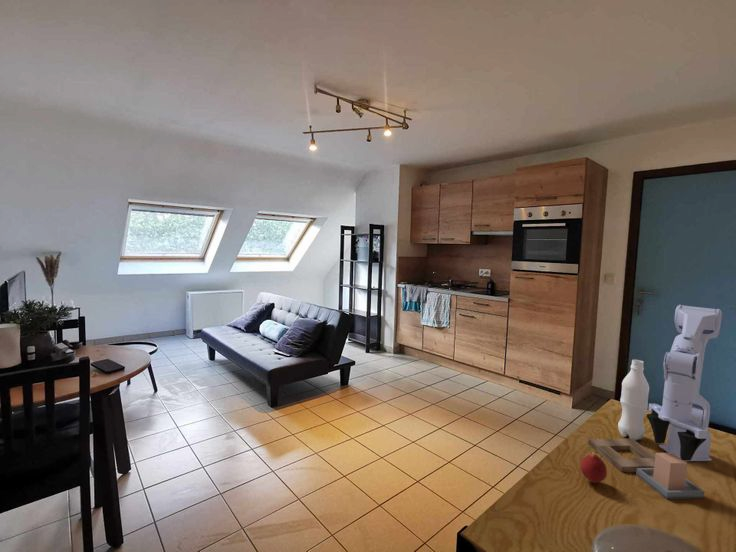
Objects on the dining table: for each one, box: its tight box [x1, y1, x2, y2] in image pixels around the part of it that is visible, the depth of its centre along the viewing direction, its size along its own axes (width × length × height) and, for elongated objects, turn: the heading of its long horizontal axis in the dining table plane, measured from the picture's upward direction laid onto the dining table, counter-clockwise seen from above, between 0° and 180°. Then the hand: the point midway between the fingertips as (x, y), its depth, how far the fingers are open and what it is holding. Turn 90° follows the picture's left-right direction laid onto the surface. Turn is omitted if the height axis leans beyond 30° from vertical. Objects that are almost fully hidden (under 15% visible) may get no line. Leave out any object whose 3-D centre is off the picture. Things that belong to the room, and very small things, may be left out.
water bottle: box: [617, 359, 650, 441], centre depth 119 cm, size 7×7×25 cm
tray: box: [635, 468, 706, 500], centre depth 96 cm, size 10×10×2 cm
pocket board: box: [587, 438, 655, 473], centre depth 108 cm, size 14×14×2 cm
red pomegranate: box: [580, 452, 608, 484], centre depth 96 cm, size 6×6×8 cm
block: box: [653, 452, 689, 490], centre depth 95 cm, size 4×4×7 cm
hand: (672, 450), depth 95 cm, fingers open, 7 cm apart
